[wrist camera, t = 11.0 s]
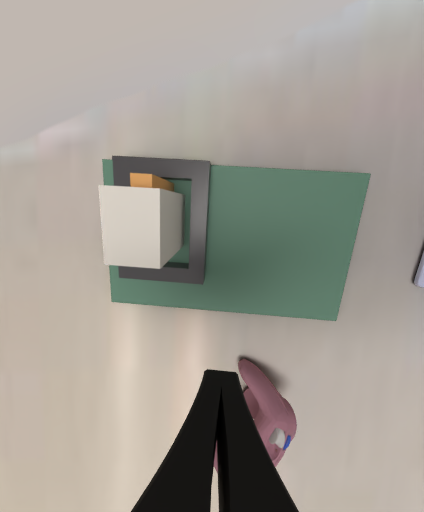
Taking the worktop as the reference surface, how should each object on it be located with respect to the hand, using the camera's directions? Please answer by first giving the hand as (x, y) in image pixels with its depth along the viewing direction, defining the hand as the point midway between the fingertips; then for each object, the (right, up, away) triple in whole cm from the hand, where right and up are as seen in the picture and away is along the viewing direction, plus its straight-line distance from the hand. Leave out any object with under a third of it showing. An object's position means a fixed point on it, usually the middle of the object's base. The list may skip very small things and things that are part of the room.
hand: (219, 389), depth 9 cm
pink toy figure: (+3, -9, +13) cm, 16 cm away
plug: (-4, +9, +8) cm, 12 cm away
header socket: (-4, +9, +9) cm, 13 cm away
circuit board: (+1, +7, +9) cm, 11 cm away
